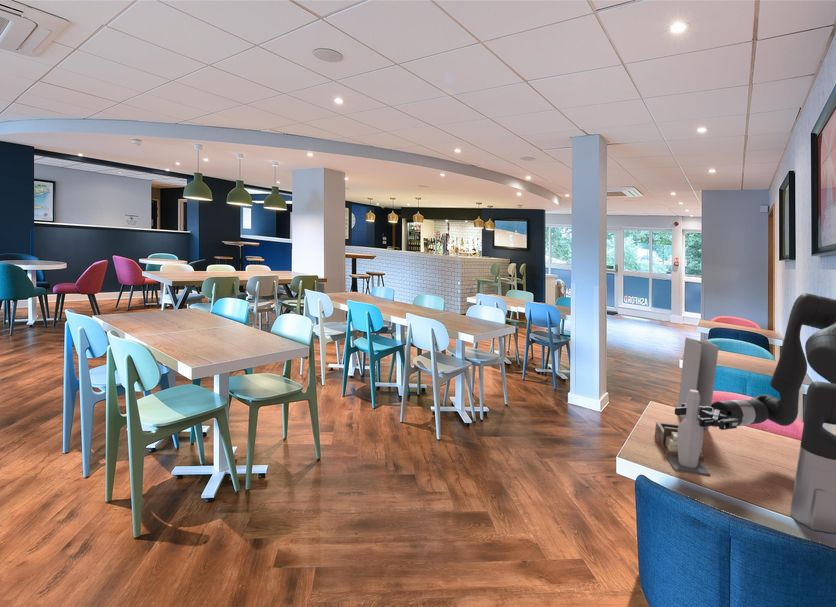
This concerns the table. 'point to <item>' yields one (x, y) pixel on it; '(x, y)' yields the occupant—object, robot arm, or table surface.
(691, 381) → the brochure
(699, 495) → the table surface
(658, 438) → the offcut rack
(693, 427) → the low poly bottle
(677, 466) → the mat
